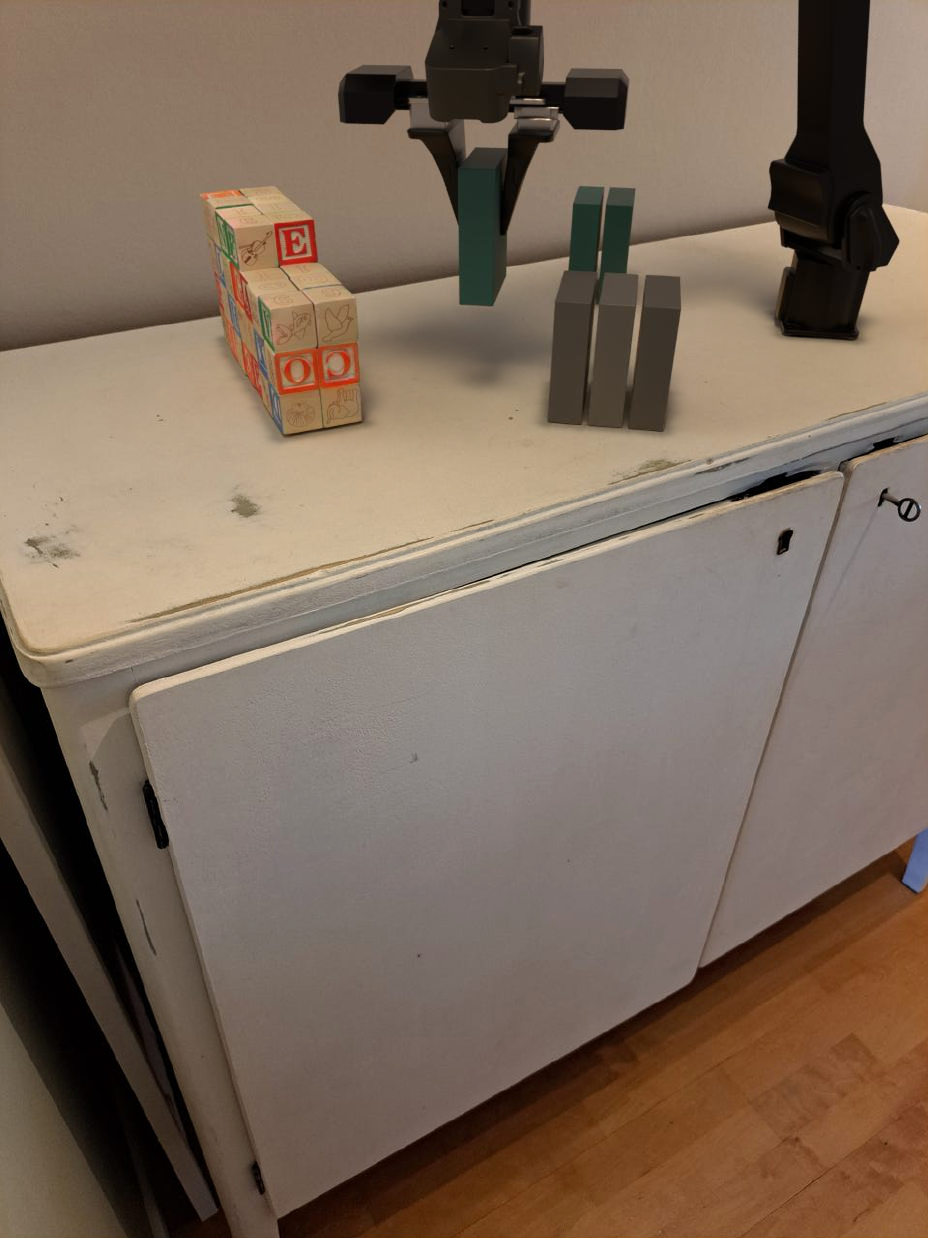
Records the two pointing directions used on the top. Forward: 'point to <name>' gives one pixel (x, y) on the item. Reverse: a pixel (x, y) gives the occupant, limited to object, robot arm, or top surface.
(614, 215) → the teal books
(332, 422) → the stack of blocks
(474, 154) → the teal book
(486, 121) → the robot arm
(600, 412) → the grey books
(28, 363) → the top surface
